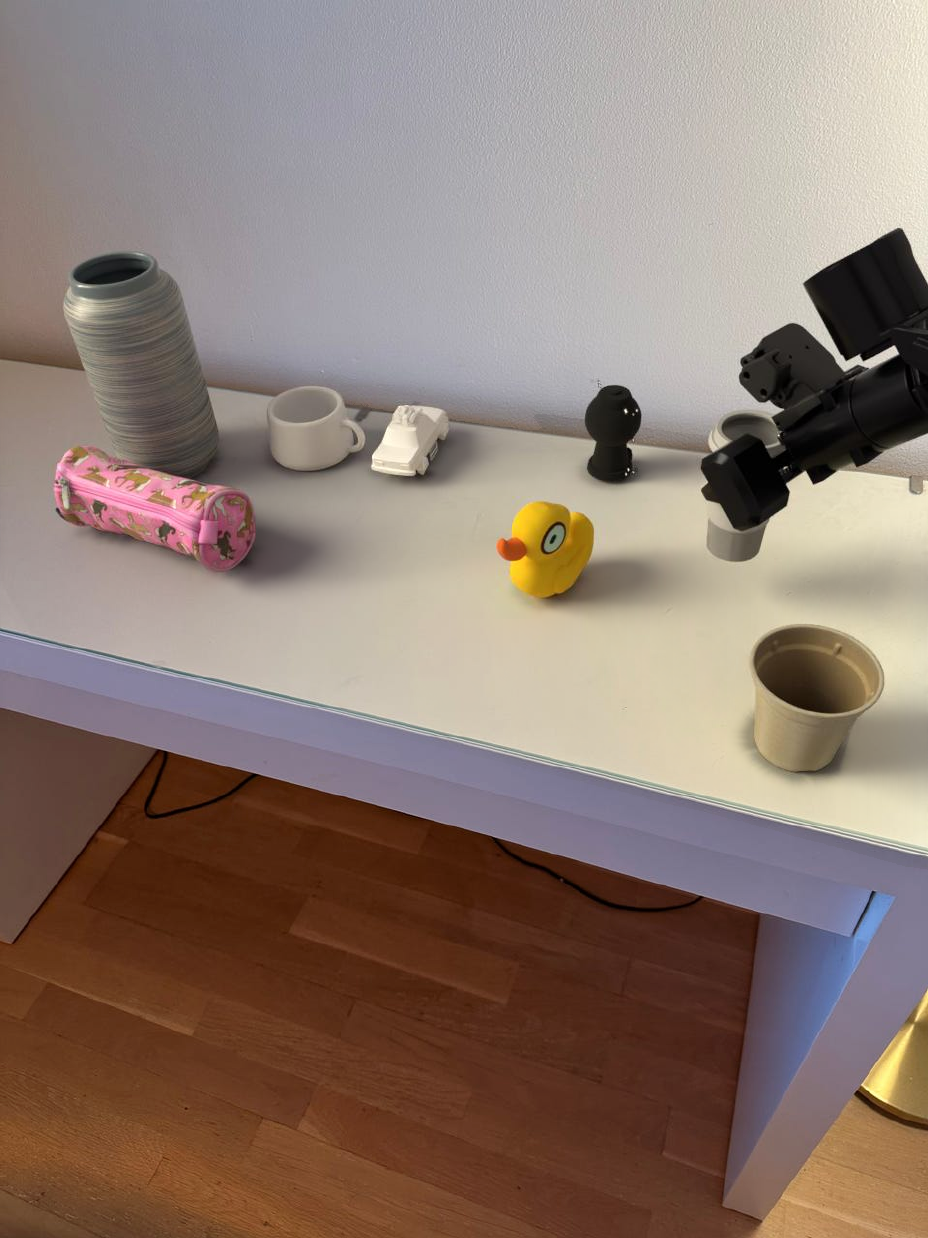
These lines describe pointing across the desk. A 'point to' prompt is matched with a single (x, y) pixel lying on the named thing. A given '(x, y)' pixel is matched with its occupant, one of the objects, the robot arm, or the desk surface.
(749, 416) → the cup
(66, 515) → the pencil case
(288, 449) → the mug
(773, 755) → the flower pot
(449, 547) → the desk surface
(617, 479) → the gumball machine
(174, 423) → the vase
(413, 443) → the toy car
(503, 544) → the duckling
